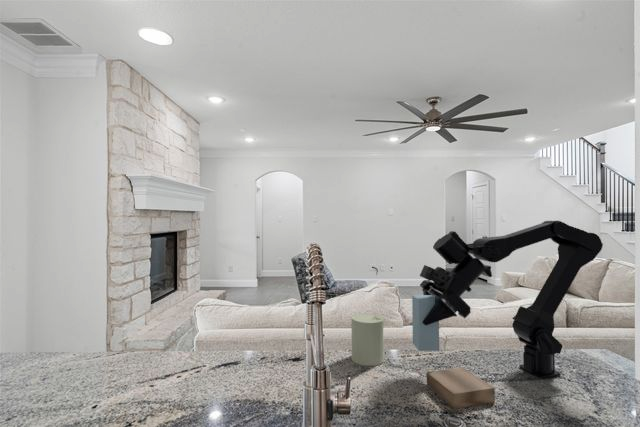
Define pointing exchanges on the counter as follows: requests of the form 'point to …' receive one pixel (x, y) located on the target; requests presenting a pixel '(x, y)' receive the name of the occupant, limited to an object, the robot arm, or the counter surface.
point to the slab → (460, 387)
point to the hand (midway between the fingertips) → (420, 320)
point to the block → (423, 334)
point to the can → (367, 339)
